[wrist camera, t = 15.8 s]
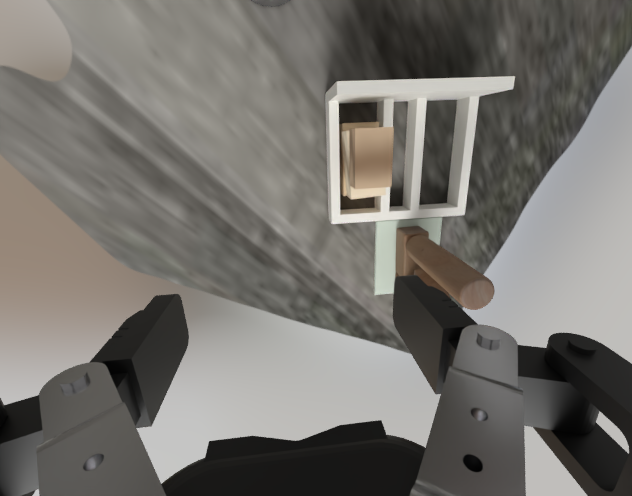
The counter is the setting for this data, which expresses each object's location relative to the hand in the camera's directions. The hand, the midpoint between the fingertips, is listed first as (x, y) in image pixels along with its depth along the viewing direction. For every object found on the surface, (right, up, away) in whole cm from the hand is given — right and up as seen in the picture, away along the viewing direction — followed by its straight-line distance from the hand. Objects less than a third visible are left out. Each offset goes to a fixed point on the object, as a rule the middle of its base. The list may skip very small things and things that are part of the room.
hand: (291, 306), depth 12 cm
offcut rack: (+12, +15, +31) cm, 37 cm away
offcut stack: (+6, +14, +31) cm, 35 cm away
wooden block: (+15, 0, +36) cm, 39 cm away
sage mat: (+15, +1, +37) cm, 40 cm away
